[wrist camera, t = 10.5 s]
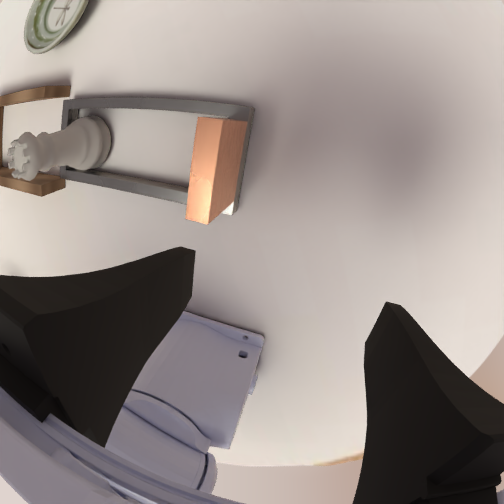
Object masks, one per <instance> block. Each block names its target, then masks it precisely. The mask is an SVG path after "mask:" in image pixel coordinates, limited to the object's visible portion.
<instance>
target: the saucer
mask: <svg viewBox="0 0 504 504" xmlns="http://www.w3.org/2000/svg"><path fill="white" fill-rule="evenodd" d="M88 1H89V0H34V2H33V4H32V6H31V8H30V10H29V13H28V16H27V19H26V23H25V28H24V41H25V45H26V47H27V49H28V50H29V51H30V52H32V53H34V54H42V53H45V52H47V51H49V50H51V49H52V48H54V47H55V46H56V45H57V44H59V43H60V42H61V41H62V40H63V39H64V38H65V37H66V36H67V35H68V33H69V32H70V31H71V30H72V29H73V28H74V26H75V25H76V24H77V22H78V21H79V19H80V18H81V16H82V14H83V12H84V10H85V8H86V6H87V4H88Z"/></svg>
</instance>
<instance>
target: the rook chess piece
mask: <svg viewBox="0 0 504 504" xmlns="http://www.w3.org/2000/svg"><path fill="white" fill-rule="evenodd" d="M11 145H12V148H9V149H8V156H11V155H13V161H10V162H8V167H9V169H12V168H14V169H15V171H12V176H13V177H14V178H17V177H18V179H20V178H23V179H24V180H28V181H31V180H32V179H34V178H35V176H36V175H37V173H38V172H39V171H41V172H47V171H49V170H50V169H51V168H52V167H55V166H65V165H68V166H69V167H73V168H75V169H78V170H88V169H95V168H97V167H99V166H101V164H102V163H103V162H104V161H105V160H106V158H107V155H108V153H109V150H110V147H111V136H110V131H109V129H108V127H107V125H106V124H105V122H104V121H103V120H102V119H101V118H99V117H97V116H87V117H81V118H79V119H77V120H75V121H74V122H72V123H71V124H70V125H69V126H67V127H66V128H65V129H64V130H61V131H58V132H55V133H52V134H48V133H46V132H42V133H40V134H39V135H38V136H37V137H35V136H34V135H33V134H32V133H30V132H25V133H23V134H22V135H21V136H20V137H19V139H18V140H14V141H13V142H12V143H11Z"/></svg>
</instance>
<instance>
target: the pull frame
mask: <svg viewBox="0 0 504 504" xmlns="http://www.w3.org/2000/svg"><path fill="white" fill-rule="evenodd" d="M80 108H132V109H154V110H169V111H181V112H191V113H201V114H209V115H217V116H225V117H228V119H226V118H210V117H198V120H197V127H196V134H195V141H194V148H193V155H192V163H191V171H190V180H189V188H187V187H183V186H178V185H173V184H168V183H163V182H157V181H152V180H147V179H142V178H136V177H131V176H125V175H119V174H113V173H108V172H102V171H95V170H89V169H88V170H78V169H75V168H73V167H69V166H68V165H65V166H60V178H62V179H67V180H72V181H77V182H82V183H87V184H92V185H97V186H102V187H107V188H112V189H117V190H122V191H127V192H131V193H136V194H141V195H145V196H150V197H155V198H159V199H164V200H168V201H173V202H177V203H181V204H186V205H187V208H186V218H185V219H188V220H192V221H196V222H200V223H204V224H209V223H210V222H211V221H212V220H213V219H215V218H216V217H217V216H218V215H219V214H220V213H224V214H228V215H233V214H234V213H235V212H236V211H237V207H238V201H239V195H240V189H241V183H242V178H243V172H244V166H245V160H246V155H247V149H248V143H249V138H250V132H251V127H252V121H253V116H254V111H255V108H252V107H247V106H240V105H233V104H225V103H217V102H207V101H197V100H185V99H170V98H145V97H108V98H84V99H70V100H64V102H63V112H62V124H61V130H64V129H65V128H66V127H67V126H69V125H70V124H71V123H72V122H74V121H75V120H77V119H78V109H80Z"/></svg>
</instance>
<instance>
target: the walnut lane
mask: <svg viewBox="0 0 504 504" xmlns="http://www.w3.org/2000/svg"><path fill="white" fill-rule="evenodd" d="M70 87H71V86H43V87H38V88H33V89H28V90H24V91H19V92H15V93H11V94H7V95H3V96H0V186H4V187H8V188H11V189H15V190H19V191H23V192H26V193H30V194H34V195H38V196H41V197H42V196H45V195H47V194H50V193H52V192H55V191H58V190H60V189H63V188H65V179H62V178H60V176H56V175H50V174H44V173H37V175H36V176H35V178H34V179H32V180H31V181H28V180H24V179H23V178H20V179H18V177H17V178H14V177H13V176H12V171H15V169H14V168H12V169H9V168H8V167H2V126H3V109H4V106H7V105H13V104H18V103H24V102H30V101H37V100H44V99H52V98H61V97H69V95H70Z"/></svg>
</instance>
